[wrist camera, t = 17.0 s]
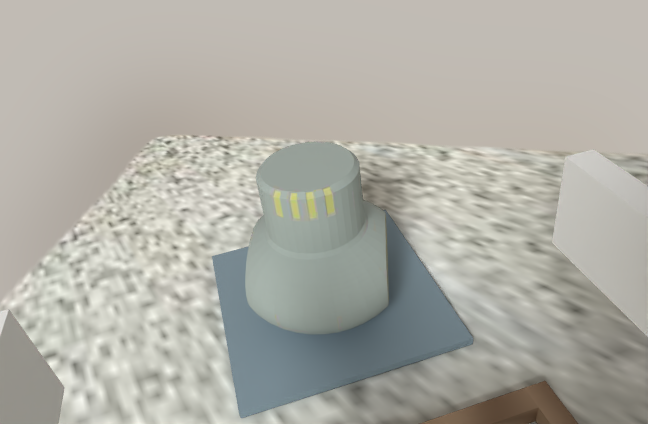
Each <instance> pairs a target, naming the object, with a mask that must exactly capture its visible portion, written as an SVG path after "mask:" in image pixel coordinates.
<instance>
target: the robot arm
mask: <svg viewBox="0 0 648 424" xmlns="http://www.w3.org/2000/svg"><path fill="white" fill-rule="evenodd" d="M552 243H553V244H554V245H555V246H556V247H557V248H558V249H559V250H560V251H561V252H562V253H563V254H564V255H565V256H566V257H567V258H568V259H569V260H570V261H571V262H572V263H573V264H574V265H575V266H576V267H577V268H578V269H579V270H580V271H581V272H582V273H583V274H584V275H585V276H586V277H587V278H588V279H589V280H590V281H591V282H592V283H593V284H594V285H595V286H596V287H597V288H598V289H599V290H600V291H601V292H602V293H603V294H604V295H605V296H606V297H607V298H609V299H610V300H611V301H612V302H613V303H614V304H615V305H616V306H617V307H618V308H619V309H620V310H621V311H622V312H623V313H624V314H625V315H626V316H627V317H628V318H629V319H630V320H631V321H632V322H633V323H634V324H635V325H636V326H637V327H638V328H639V329H640V330H641V331H642V332H643V333H644V334H645V335H646V336H647V337H648V186H647V185H646V184H644V183H643V182H641V181H640V180H638V179H637V178H635V177H634V176H632V175H631V174H629V173H628V172H626V171H625V170H623V169H622V168H621V167H619V166H618V165H616V164H615V163H613V162H612V161H610V160H609V159H607V158H606V157H604V156H603V155H601V154H600V153H598V152H597V151H595V150H594V149H592V150H588V151H585V152H581V153H577V154H574V155H570V156H566V157H565V163H564V169H563V175H562V182H561V188H560V194H559V201H558V207H557V213H556V220H555V226H554V232H553V239H552ZM63 393H64V386H63V385H62V383H61V382H60V380H59V379H58V378H57V376H56V375H55V373H54V372H53V371H52V369H51V368H50V366H49V365H48V364H47V362H46V361H45V359H44V358H43V356H42V355H41V354H40V352H39V351H38V349H37V348H36V347H35V345H34V344H33V342H32V341H31V340H30V338H29V337H28V335H27V334H26V333H25V331H24V330H23V328H22V327H21V326H20V324H19V323H18V321H17V320H16V319H15V317H14V316H13V314H12V313H11V311H10V310H9V309H8V310H4V311H0V424H58V423H59V417H60V411H61V405H62V399H63Z"/></svg>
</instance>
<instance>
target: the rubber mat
mask: <svg viewBox="0 0 648 424" xmlns="http://www.w3.org/2000/svg"><path fill="white" fill-rule="evenodd" d="M383 211H384V212H385V213H386V227H387V250H388V284H389V305H388V307H387V308H385V309H384V310H383V311H382V312H381V313H379V314H378V315H377V316H376V317H374V318H372V319H371V320H369V321H367V322H366V323H364V324H361V325H359V326H357V327H354V328H352V329H349V330H345V331H341V332H338V333H331V334H313V335H311V334H303V333H295V332H292V331H288V330H284V329H282V328H279V327H277V326H275V325H273V324H271V323H269V322H267V321H266V320H265V319H263V318H262V317H260V316H259V315H258V314H257V313H256V312H255V311H254V310H253V309H252V308H251V307H250V306H249V304H248V301H247V297H246V288H245V274H246V261H247V254H248V248H249V247H245V248H241V249H237V250H234V251H230V252H226V253H223V254H219V255H215V256H212V259H213V265H214V270H215V276H216V282H217V288H218V294H219V299H220V305H221V311H222V317H223V323H224V328H225V334H226V340H227V346H228V352H229V358H230V363H231V369H232V375H233V381H234V387H235V392H236V398H237V404H238V410H239V414H240V417H241V418H244V417H247V416H250V415H253V414H256V413H259V412H262V411H265V410H269V409H272V408H275V407H278V406H281V405H284V404H287V403H290V402H293V401H297V400H300V399H303V398H306V397H309V396H312V395H315V394H318V393H321V392H325V391H328V390H331V389H334V388H337V387H340V386H343V385H346V384H350V383H353V382H356V381H359V380H362V379H365V378H368V377H371V376H374V375H378V374H381V373H384V372H387V371H390V370H393V369H396V368H399V367H402V366H406V365H409V364H412V363H415V362H418V361H421V360H424V359H427V358H430V357H434V356H437V355H440V354H443V353H446V352H449V351H452V350H455V349H458V348H462V347H465V346H468V345H471V344H473V337H472V336H471V334H470V333H469V331H468V330H467V328H466V327H465V326H464V324H463V323H462V321H461V320H460V318H459V317H458V315H457V314H456V312H455V311H454V309H453V308H452V306H451V305H450V304H449V302H448V301H447V299H446V298H445V296H444V295H443V293H442V292H441V290H440V289H439V287H438V286H437V284H436V283H435V282H434V280H433V279H432V277H431V276H430V274H429V273H428V271H427V270H426V268H425V267H424V265H423V264H422V262H421V261H420V260H419V258H418V257H417V255H416V254H415V252H414V251H413V249H412V248H411V246H410V245H409V243H408V242H407V240H406V239H405V238H404V236H403V235H402V233H401V232H400V230H399V229H398V227H397V226H396V224H395V223H394V221H393V220H392V218H391V217H390V216H389V214H388V213H387V211H386V210H383Z"/></svg>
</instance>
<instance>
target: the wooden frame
mask: <svg viewBox="0 0 648 424" xmlns="http://www.w3.org/2000/svg"><path fill="white" fill-rule="evenodd" d="M534 421H536V422H537V424H578V423H577V422H576V420H575V419H574V418H573V416H572V415H571V414H570V412H569V411H568V410H567V409H566V407H565V406H564V405H563V403H562V402H561V401H560V399H559V398H558V397H557V395H556V394H555V393H554V391H553V390H552V389H551V388H550V386H549V385H548V384H547V382H546V381H543V382H540V383H537V384H534V385H531V386H528V387H525V388H523V389H520V390H517V391H514V392H511V393H508V394H505V395H502V396H499V397H496V398H493V399H490V400H487V401H484V402H482V403H479V404H476V405H473V406H470V407H467V408H464V409H461V410H458V411H455V412H452V413H449V414H446V415H443V416H441V417H438V418H435V419H432V420H429V421H426V422H423V423H420V424H529V423H532V422H534Z"/></svg>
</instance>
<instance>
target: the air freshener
mask: <svg viewBox="0 0 648 424" xmlns="http://www.w3.org/2000/svg"><path fill="white" fill-rule="evenodd" d="M256 181H257V186H258V190H259V195H260V200H261V204H262V209H263V213H264V215H263V216H262V217H261V218H260V219H259V220H258V221H257V223H256V225H255V227H254V229H253V232H252V235H251V239H250V243H249V248H248V254H247V261H246V274H245V288H246V297H247V301H248V304H249V306H250V307H251V308H252V309H253V310H254V311H255V312H256V313H257V314H258V315H259V316H260V317H262V318H263V319H265V320H266V321H267V322H269V323H271V324H273V325H275V326H277V327H279V328H282V329H284V330H288V331H292V332H295V333H303V334H311V335H313V334H331V333H338V332H341V331H345V330H349V329H352V328H354V327H357V326H359V325H361V324H364V323H366V322H367V321H369V320H371V319H372V318H374V317H376V316H377V315H378V314H379V313H381V312H382V311H383V310H384V309H385V308H387V307H388V305H389V284H388V250H387V227H386V213H385V212H384V211H383V210H382V209H380V208H379V207H377V206H375V205H374V204H372V203H370V202H368V201H365V200H363V196H362V186H361V176H360V166H359V161H358V159H357V157H356V156H355V155H354V154H353V153H352V152H350V151H349V150H347V149H346V148H344V147H342V146H340V145H337V144H333V143H328V142H306V143H299V144H295V145H291V146H288V147H285V148H283V149H281V150H279V151H277V152H275V153H273V154H272V155H271V156H269V157H268V158H267V159H266V160H265V161H264V162H263V164H262V165H261V166H260V168H259V169H258V171H257V175H256Z"/></svg>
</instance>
